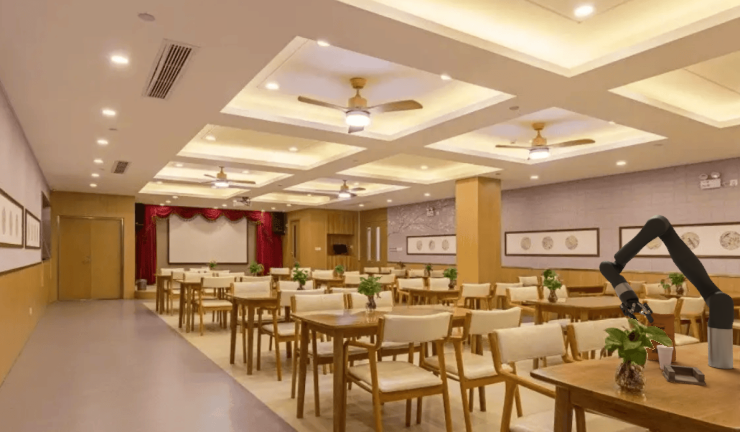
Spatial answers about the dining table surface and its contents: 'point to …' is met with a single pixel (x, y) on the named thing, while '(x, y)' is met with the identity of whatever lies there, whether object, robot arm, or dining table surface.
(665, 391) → the dining table surface
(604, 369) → the dining table surface
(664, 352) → the smoothie
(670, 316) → the coffee package
